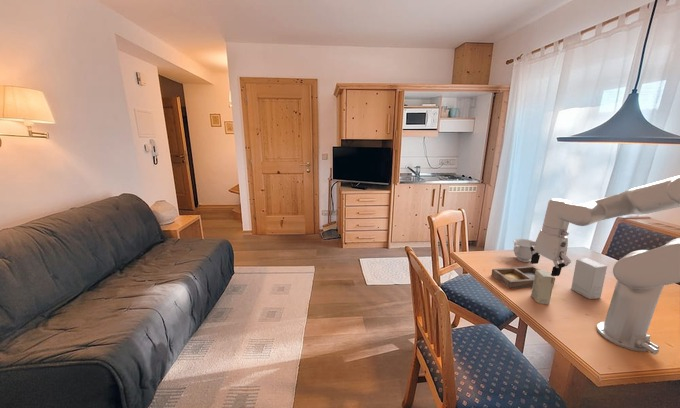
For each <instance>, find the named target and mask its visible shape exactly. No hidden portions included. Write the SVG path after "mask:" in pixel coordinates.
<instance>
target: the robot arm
mask: <svg viewBox="0 0 680 408" xmlns="http://www.w3.org/2000/svg"><path fill="white" fill-rule="evenodd" d="M677 208H680V175H676V176H673V177H668V178H665V179H662V180H659V181H655V182H651V183H648V184H645V185H641V186H637V187H636V186H635V187H633V188H630V189H629V188H628V189H627V190H625V191H622V192H620V193H617V194H612V195H609V196H605V197H603V198H599V199H595V200H591V201H587V202H583V203H577V204H574V202H573V201H572V200H568V199H564V198H550V199H549V200H548V203H547V207H546V211H545V214H544V215H545V216H544V219H543V224H542V227H541V230H539V233H538V234H537V237H536V240H535V241H534V242H530V249H531V254H532V258H531V259H530V261H529V262H530V264H532V265H535V264H538V263H539V261H540V257H541V256H542V257H544V258H547V259H548V260H550V261H552V262H553V265H554V266H552V269H551V273H550V274H551V276H554V277H559V276H561V275H560V274H561V272H562V269H563V268H565V267H567V266H568V265H570V264H571V263H572V260H571V259H570V258H569V257H568V255H567V251H568V247H569V246H568V245H569V243H568V242H569V240H568V236H569V235H570V233H569V232H568V229H569V224H572V225H574V226H578V227H587V226H590V225H593V224H595V223H597V222H600V221H605V220H608V219H613V218H617V217H622V216H629V215H648V214H653V213H657V212H661V211H667V210H672V209H677ZM612 274H613V276H614V278H615V279H616V280H617V281H616V283H615V286H614V290H613V292H612V296H611V300H610V304H609V307H608V310H607V313H606V317H605V320H604V321H601V322H599V323H597V325H596V331H597V332H598V333H599V335H601V337H603V339H606V340H607V341H609V342H611V343H612V344H615V345H616V346H619V347H622V348H623V349H627V350H629V351H636V352H647V351H648V352H649V353H650V354H652V355H654V356H655V355H657V354H658V353H659V351H660V350H659V349H660V346H659V345H657V344H656V343H654V342H652V341H651V340H650V339H651V337H652V336H651V335H650V334H648V331H649V327H650V325H651V321H652V319H653V316H654V314H655V310H656V308H657V305H658V303H659V299H660V297H661V294H662V293H663V292H662V291H663V289H664V287H665V286H668V285H672V284H677V283H680V237H676V238H674V239H671V240H669V241H668V242H667V243H665V244H664V245H661V246H658V247H656V248H651V249H649V250H648V249H638V250H634V251H631V252H629V253H627V254H626V255H624V256H623V257H621V258H620V259H619V260H617V261H616V262H615V263H614V265H613V267H612Z"/></svg>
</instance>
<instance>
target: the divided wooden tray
mask: <svg viewBox="0 0 680 408" xmlns="http://www.w3.org/2000/svg"><path fill="white" fill-rule="evenodd" d="M536 270H541V269H539V267H537V266H535V265H525V266H517V267H516V266H515V267H514V266H513V267H502V268H492V270H491V277H493V278H494V279H496V280H497V281H498V282H500V283H501V284H503V285H504V286H505V287H507V288H508V289H510V290H512V289H523V288H531V287H533V282H534V276H535V271H536ZM555 282H556V278H555V279H554V284H553V286H554V285H555Z"/></svg>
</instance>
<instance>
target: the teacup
mask: <svg viewBox="0 0 680 408" xmlns="http://www.w3.org/2000/svg"><path fill="white" fill-rule="evenodd" d="M512 242H513V244H514V246H513V253H514V255H515V257H516V259H517V261H520V262H523V263H529V262H530V261H531V258H532V254H531V249H530V242H535V241H533V240H530V239H526V238H515V239H513V241H512Z"/></svg>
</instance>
